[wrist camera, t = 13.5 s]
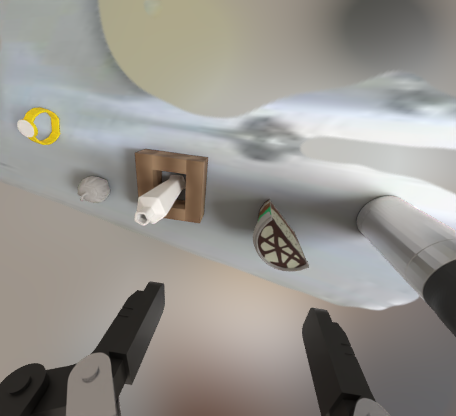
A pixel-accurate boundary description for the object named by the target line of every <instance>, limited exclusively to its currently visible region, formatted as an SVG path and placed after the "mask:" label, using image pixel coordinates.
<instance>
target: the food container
mask: <svg viewBox="0 0 456 416" xmlns="http://www.w3.org/2000/svg"><path fill="white" fill-rule="evenodd" d="M253 243H254V246H255V249H256V251H257V253H258V255H259V256H260V258H261V259H262V260H263V261H264V262H265V263H266V264H268V265H269V266H271V267H273V268H275V269H278V270H282V271H299V270H303V269H306V268H309V264H308V261H306V258H305V256H304V254H303V251H302V249H301V247H300V244H299V242H298V239H297V237H296V235H295V232H294V231H293V229H292V228H291V227H290V225H289V224H288V223H287V221H286V220H285V219H284V218H283V216H282V215H281V214H280V212H279V211H278V210H277V208H276V207H275V206H274V204H273V203H272V202H271V200H270V199H269V200H268V201H266V202H265V203H264V204H263V206H262V207H261V209H260V212H259V215H258V222H257V224H256V226H255V229H254V232H253Z"/></svg>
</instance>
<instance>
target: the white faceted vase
mask: <svg viewBox="0 0 456 416" xmlns="http://www.w3.org/2000/svg"><path fill="white" fill-rule="evenodd" d="M185 188H186V182H185V180H184V178H183V176H182V175H170V177H169V179H168V180H167V181H165V182H163V183H162V184H160V185H158V186H157V187H155V188H153V189H152V190H150V191H148V192H147V193H145V194H144V195H142V196H140V197H139V198H138V205H137V212H136V213H135V221H136V222H137V223H139V224H140V225H142V226H145V225H146V224H148V223H149V222H150V223H152V224H155V223H156V222H158V221H159V220H161V219H162V218H164V217H165V216H166V215H167V214H168V212H169V210H170V209H171V207H172V205H173V204H174V202H175V200H176V199H177V197H178V195H179V194H180V192H181V191H182V190H183V189H185Z"/></svg>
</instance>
